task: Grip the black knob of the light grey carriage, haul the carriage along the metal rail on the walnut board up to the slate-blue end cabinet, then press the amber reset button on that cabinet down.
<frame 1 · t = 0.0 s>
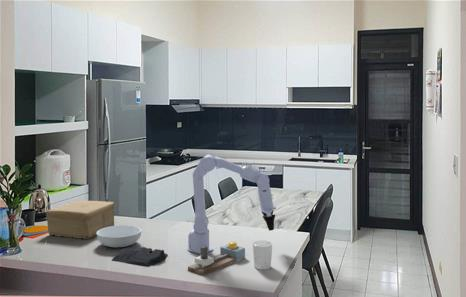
hand: (270, 227, 215), 11 cm above the counter, tool pointing down, fingers open, 7 cm apart
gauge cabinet: (232, 257, 207), on the counter
white cup: (262, 267, 195), on the counter
carriage: (204, 256, 192), point 6 cm above the counter, slide at -5.0 cm
reset button: (232, 247, 206), point 4 cm above the counter, slide at 0.0 cm
paper package: (82, 231, 250), on the counter
dark grey folded cloth: (140, 259, 207), on the counter
rail board: (212, 265, 197), on the counter
serving bowl: (119, 245, 226), on the counter
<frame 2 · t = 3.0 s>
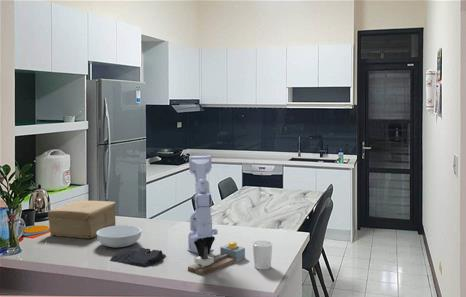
hand: (204, 255, 192), 6 cm above the counter, tool pointing down, fingers closed on carriage, 3 cm apart
carriage: (204, 256, 192), point 6 cm above the counter, slide at -5.0 cm, touching gripper
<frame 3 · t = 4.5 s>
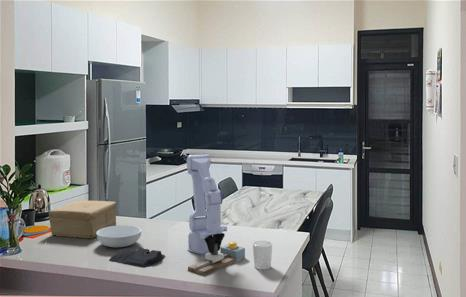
hand: (214, 251, 197), 6 cm above the counter, tool pointing down, fingers closed on carriage, 3 cm apart
carriage: (214, 252, 197), point 6 cm above the counter, slide at 1.1 cm, touching gripper
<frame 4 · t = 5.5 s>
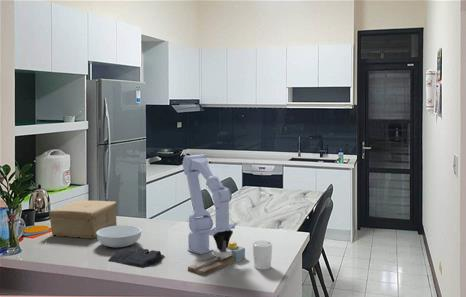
hand: (222, 248, 201), 6 cm above the counter, tool pointing down, fingers closed on carriage, 3 cm apart
carriage: (222, 249, 201), point 6 cm above the counter, slide at 6.4 cm, touching gripper
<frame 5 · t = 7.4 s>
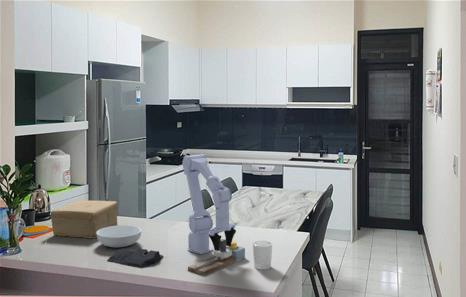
hand: (222, 248, 201), 6 cm above the counter, tool pointing down, fingers open, 7 cm apart
carriage: (222, 248, 201), point 6 cm above the counter, slide at 6.5 cm
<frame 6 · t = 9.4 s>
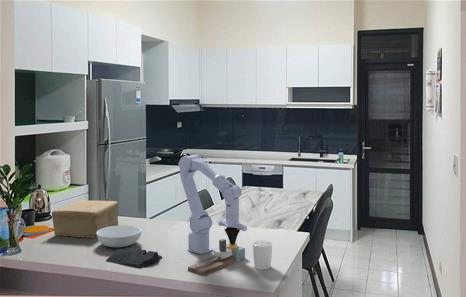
hand: (232, 244, 206), 6 cm above the counter, tool pointing down, fingers closed, pressing on reset button
reset button: (232, 248, 206), point 4 cm above the counter, slide at -0.5 cm, touching gripper
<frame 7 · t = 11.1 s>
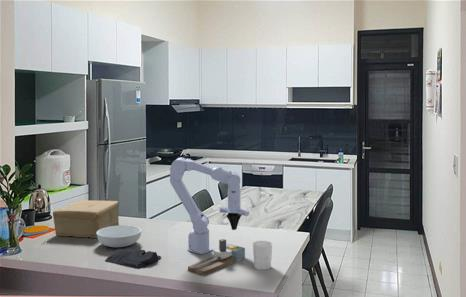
hand: (234, 229, 214), 10 cm above the counter, tool pointing down, fingers closed
reset button: (232, 251, 206), point 3 cm above the counter, slide at -1.6 cm
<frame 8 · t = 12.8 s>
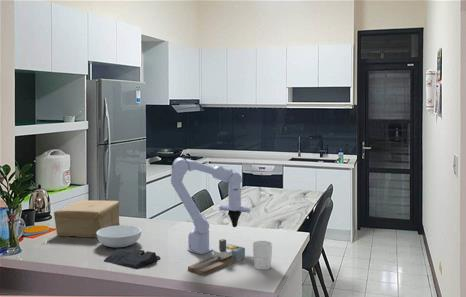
hand: (234, 226, 218), 10 cm above the counter, tool pointing down, fingers closed
at the end: carriage slide at 6.5 cm; reset button slide at -1.6 cm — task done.
